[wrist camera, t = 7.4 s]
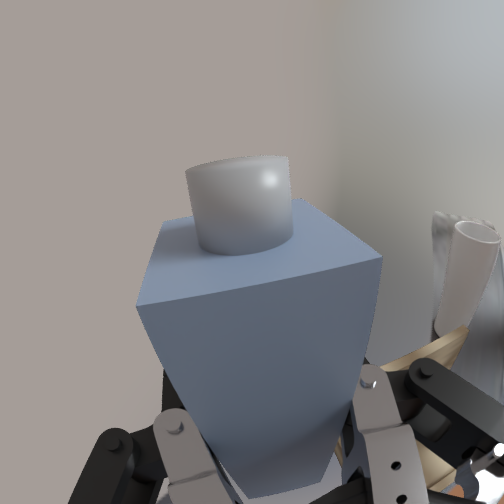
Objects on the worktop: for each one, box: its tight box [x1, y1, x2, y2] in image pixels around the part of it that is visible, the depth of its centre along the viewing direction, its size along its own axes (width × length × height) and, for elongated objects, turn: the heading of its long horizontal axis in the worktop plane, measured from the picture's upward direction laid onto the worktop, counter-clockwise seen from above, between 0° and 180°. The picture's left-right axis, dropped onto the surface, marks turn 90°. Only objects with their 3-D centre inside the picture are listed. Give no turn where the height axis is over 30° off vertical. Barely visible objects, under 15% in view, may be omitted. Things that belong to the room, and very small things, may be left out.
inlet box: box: [334, 325, 470, 492], centre depth 14 cm, size 14×12×9 cm
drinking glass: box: [434, 221, 501, 338], centre depth 26 cm, size 7×7×15 cm
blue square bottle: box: [136, 156, 383, 499], centre depth 8 cm, size 4×4×16 cm
